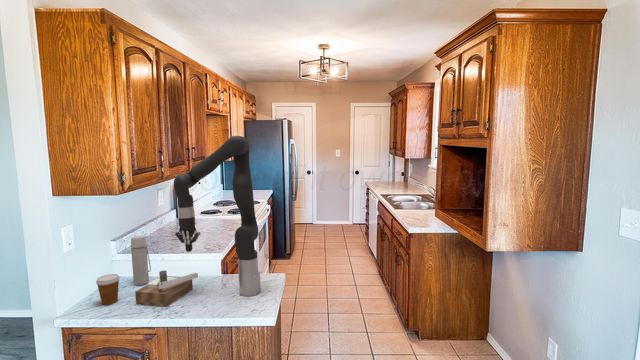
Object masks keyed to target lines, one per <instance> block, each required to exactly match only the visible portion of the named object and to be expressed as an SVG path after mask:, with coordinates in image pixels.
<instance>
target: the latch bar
mask: <svg viewBox="0 0 640 360" xmlns="http://www.w3.org/2000/svg"><path fill="white" fill-rule="evenodd" d="M179 277H180V278H177V279H173V280H170V281H167V282H159V283H157V289H162V288H165V287H168V286H172V285H175V284H178V283H181V282H184V281H187V280H191V279H192V280H193V279H196V278H199V273H197V272H193V273H190V274H187V275H183V276H179Z"/></svg>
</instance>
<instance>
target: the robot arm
mask: <svg viewBox="0 0 640 360" xmlns="http://www.w3.org/2000/svg"><path fill="white" fill-rule="evenodd" d="M231 158H233V164H234V165H233V168H234V169H233V174H232V193H233V194H232V195H233V199H234V202H235V204H236V207H237V208H238V211H239V214H240V221H241V223H240V226H238V228H236V229H235V232H234V244H235V253H236V255H237V268H238V285H239V286H238V287H239V295H241V296H243V297H250V296H251V297H252V296H257V295H258V294H259V293H260V292H261V290H262V289H261V287H262V286H261V272H260V271H259V261H258V260H259V259H258V251H257V249H255V244H254V243H255V242H254V241H256V240H257V238H258V237H259V226H258V223H257V222H258V221H257V219H256V218H257V217H256V212H255V210H256V209H255V200H254V189H253V187H254V186H253V182H252V181H253V180H252V173H251V167H250V144H249V140H248V139H247V138H246V137H244V136H242V135H231V136H230V137H229V138H228V139H227V140H226V141H225V142H224V143H223V144H222V145H221V146H220V147H218V148H217V149H216V150H215V151H214V152H213V153H211V154H210V155H208V156H207V157H206V158H204V159H202V160H201V161H199V162H197V163H196V164H194V165H193V166H192V167H191V168H190V169H189V171H188V172H186V173H184V174H180V175H177V176H176V177H175V178H174V179H173V189H174V192H175V196H176V198H177V219H178V221H177V222H178V227H179V228H178V231H177V232H175V233H174V235H175V236H176V238H177V239H178V240H179V241H180V243H182V244H184V246H185V251H186V253H191V252H192V251H193V244H194V243H195V242H196V241H197V240H198V238H199V237H200V235H201V232H200V231H197V228H196V215H195V214H196V213H195V207H194V206H195V205H194V196H193V195H192V194H190V188H192V187H193V186H195V185H196V184H198V183H199V182H200V181H201V180H202V179H204V178H205V177H207V176H208V175H210V174H212V173H213V172H214V171H215V170H216V169H217V168H218V167H219V166H220V165H221V164H223V163H224V162H225V161H227V160H230V159H231Z"/></svg>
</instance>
